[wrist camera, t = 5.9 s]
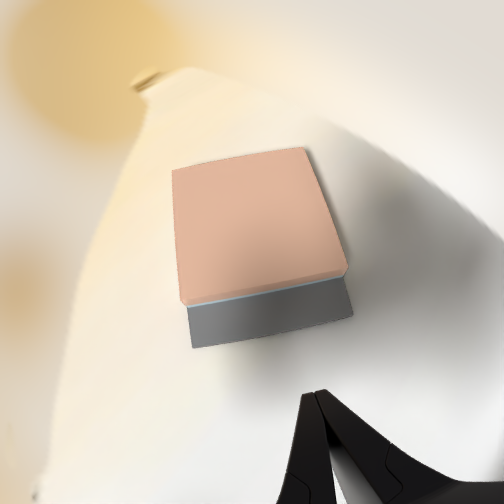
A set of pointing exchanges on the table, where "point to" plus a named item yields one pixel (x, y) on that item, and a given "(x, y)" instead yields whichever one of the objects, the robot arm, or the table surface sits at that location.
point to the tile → (252, 227)
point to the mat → (268, 313)
